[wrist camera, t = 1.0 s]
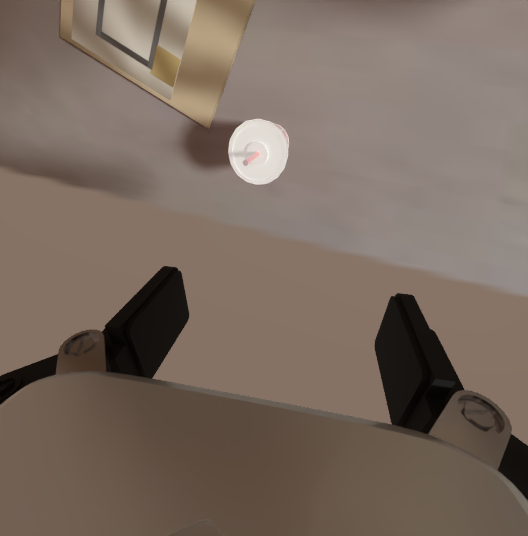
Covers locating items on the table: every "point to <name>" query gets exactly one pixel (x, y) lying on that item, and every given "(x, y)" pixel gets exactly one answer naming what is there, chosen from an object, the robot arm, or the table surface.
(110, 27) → the board
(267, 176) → the beverage cup
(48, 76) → the table surface
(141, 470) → the robot arm
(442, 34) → the table surface
